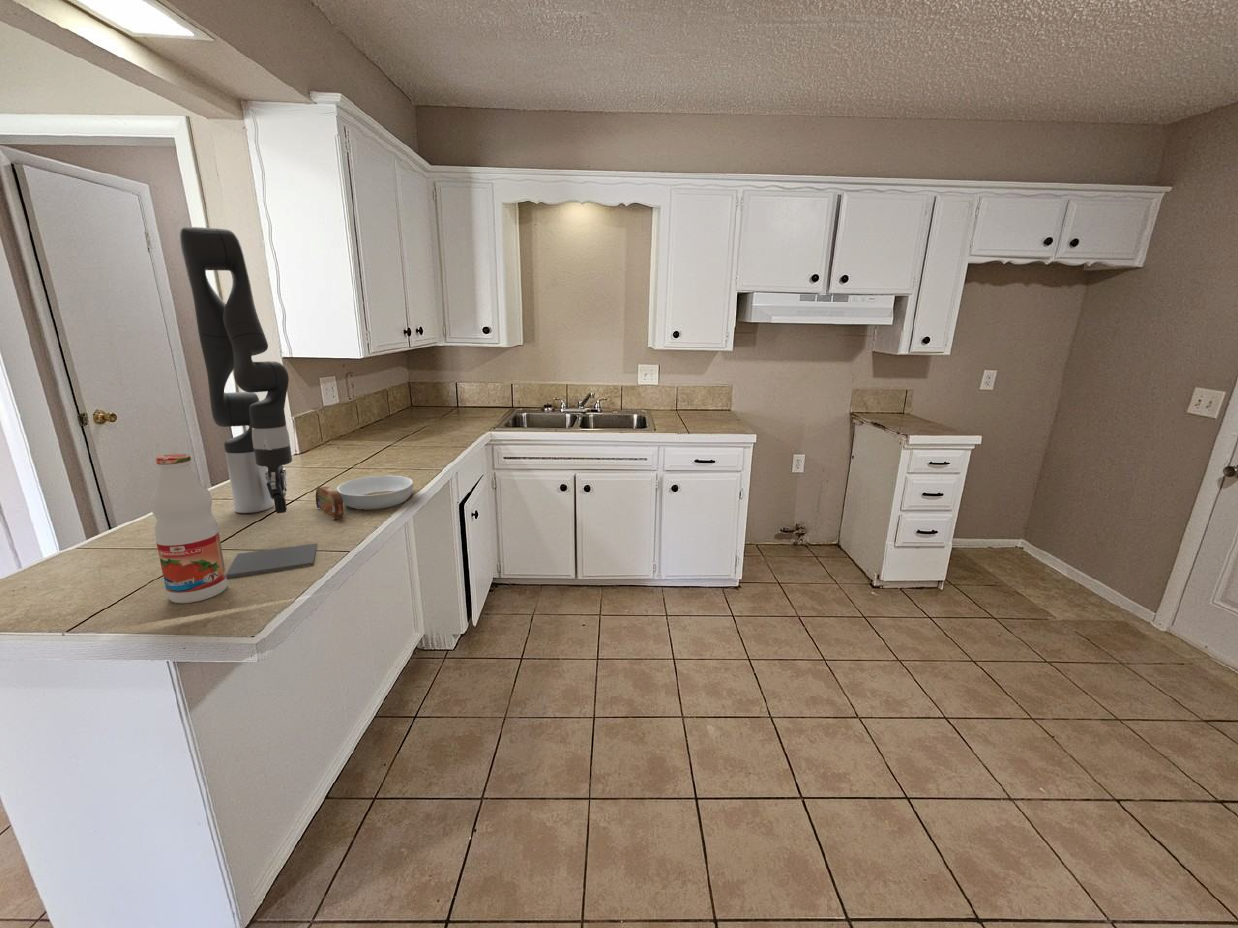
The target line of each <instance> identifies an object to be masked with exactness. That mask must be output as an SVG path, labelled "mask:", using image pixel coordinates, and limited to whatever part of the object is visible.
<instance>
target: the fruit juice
mask: <svg viewBox="0 0 1238 928" xmlns="http://www.w3.org/2000/svg"><path fill="white" fill-rule="evenodd" d="M155 460H156V461H155V462H156V466H157V467H158V468H159V475H158V479H157V482H156V483H157V484H156V487H155V489H154V491H153V493H152V495H151V497H150V500H149V509H150V511H151V513H152V515H153V517H154V518H155V520H156V521H155V525H154V538H155V542H156V543H155V544H156V547H157V548H156V549H157V552H158V558H159V562H160V563H159V564H160V566H161V567H160V568H161V573H162V576H163V577H162V578H163V581H164V587H165V591H166V595H167V598H168V600H169V601H170V602H172V603H175V604H190V603H191V604H192V603H197V602H201V601H205V600H209V599H211V598H214V597H216V596H218V595H220V594H221V593H223V592H224V591H225V590H226V589H227V587H228V578H227V577H226V573H227V571H226V567H225V561H224V555H223V549H222V543H221V537H220V531H219V526H218V522H217V519H216V517H215V515H214V514H213V513H212V505H213V497H212V494H211V491H210V490H209V489H208V488H206V486H205V485H203V484H202V483H201V482H200V480H199V478H198V477H197V476H196V474H195V472H194V471H193V469H192V467H191V465H190V464H191V463H192V459H191V455H190V454H189V453H171V454H169V453H168V454H163V455H159V456H156V459H155Z"/></svg>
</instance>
